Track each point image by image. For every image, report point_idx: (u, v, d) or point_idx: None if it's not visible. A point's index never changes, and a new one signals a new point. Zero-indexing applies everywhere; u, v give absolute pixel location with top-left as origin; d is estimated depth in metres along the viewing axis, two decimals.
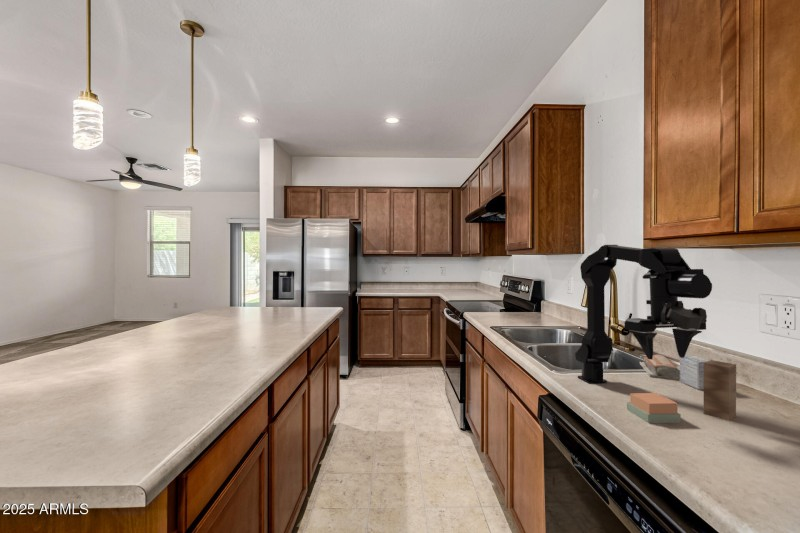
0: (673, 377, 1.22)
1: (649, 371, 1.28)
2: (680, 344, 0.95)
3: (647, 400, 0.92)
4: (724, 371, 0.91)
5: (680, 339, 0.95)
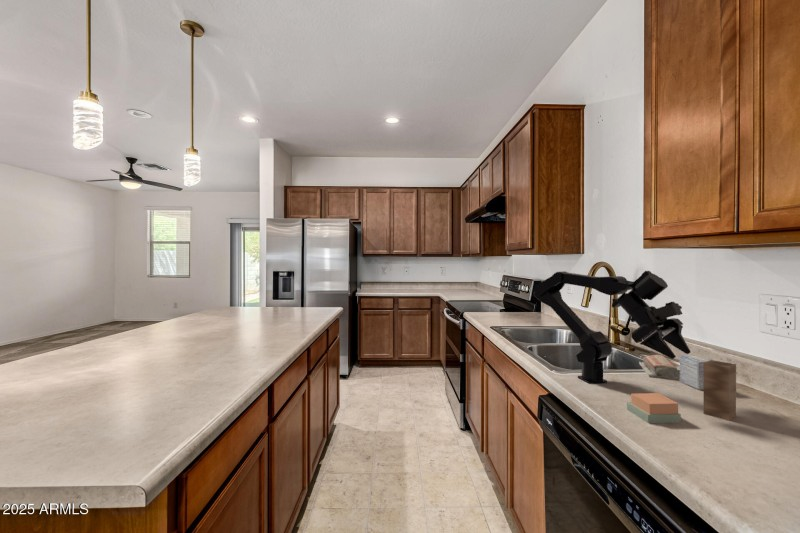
0: (672, 377, 1.22)
1: (648, 371, 1.28)
2: (678, 343, 1.05)
3: (648, 400, 0.92)
4: (724, 371, 0.91)
5: (675, 340, 1.06)
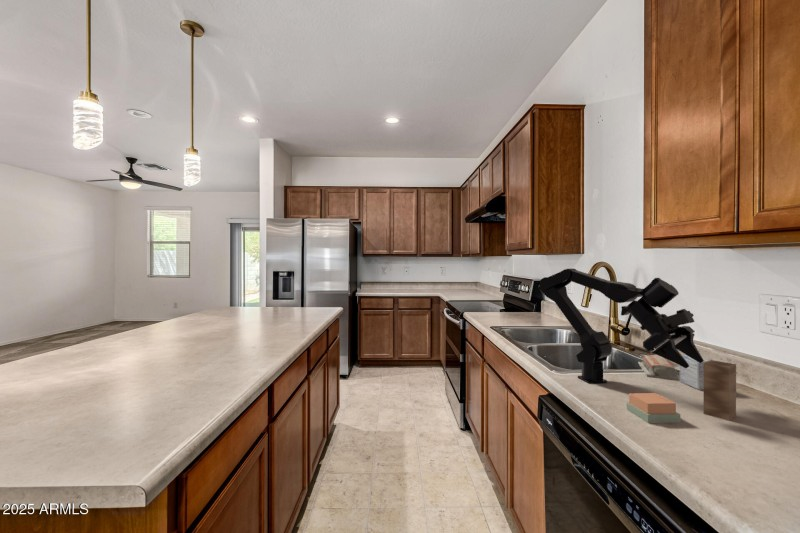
0: (670, 377, 1.22)
1: (647, 371, 1.29)
2: (691, 352, 1.02)
3: (645, 400, 0.92)
4: (724, 371, 0.91)
5: (687, 348, 1.03)
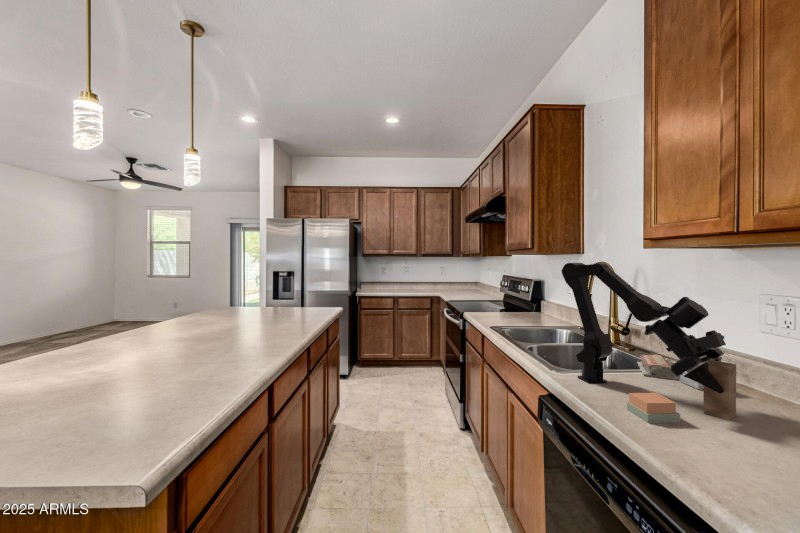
0: (667, 377, 1.22)
1: (644, 370, 1.29)
2: None
3: (645, 400, 0.92)
4: (724, 371, 0.91)
5: None
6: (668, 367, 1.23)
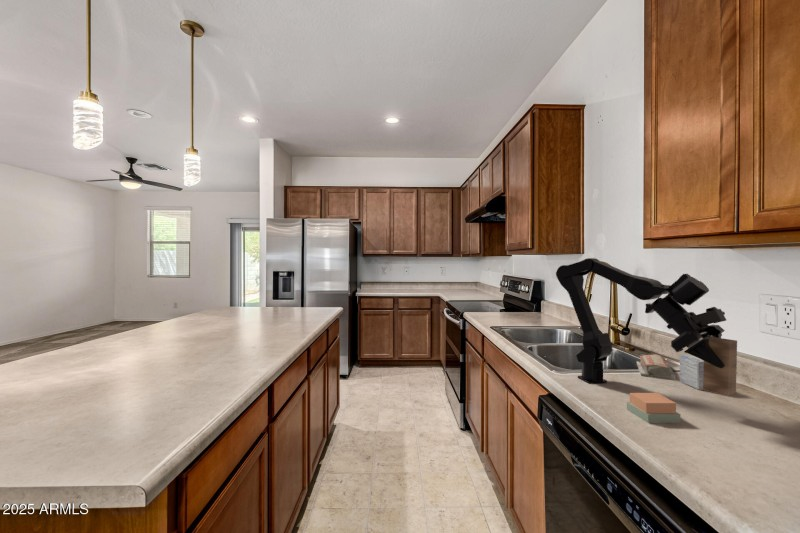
0: (664, 376, 1.23)
1: (642, 370, 1.29)
2: None
3: (645, 400, 0.92)
4: (725, 346, 0.91)
5: None
6: (665, 367, 1.23)
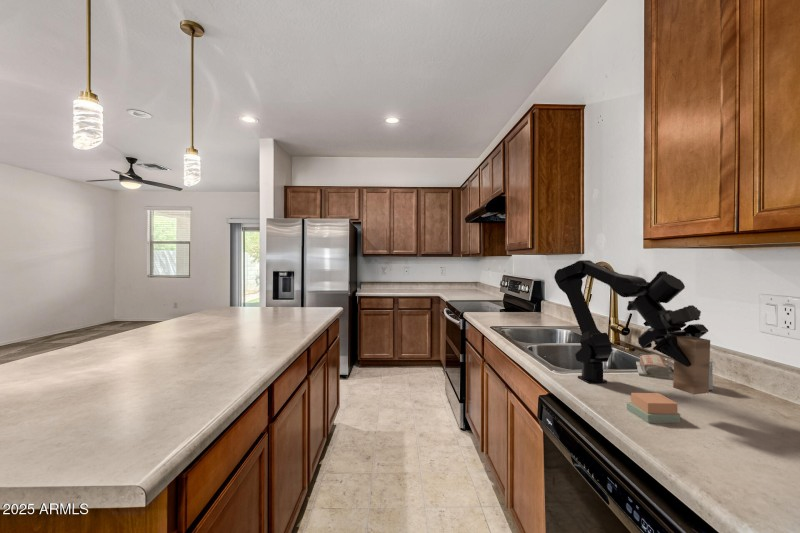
0: (662, 376, 1.23)
1: (640, 370, 1.30)
2: None
3: (646, 400, 0.92)
4: (692, 344, 0.90)
5: None
6: (663, 367, 1.23)
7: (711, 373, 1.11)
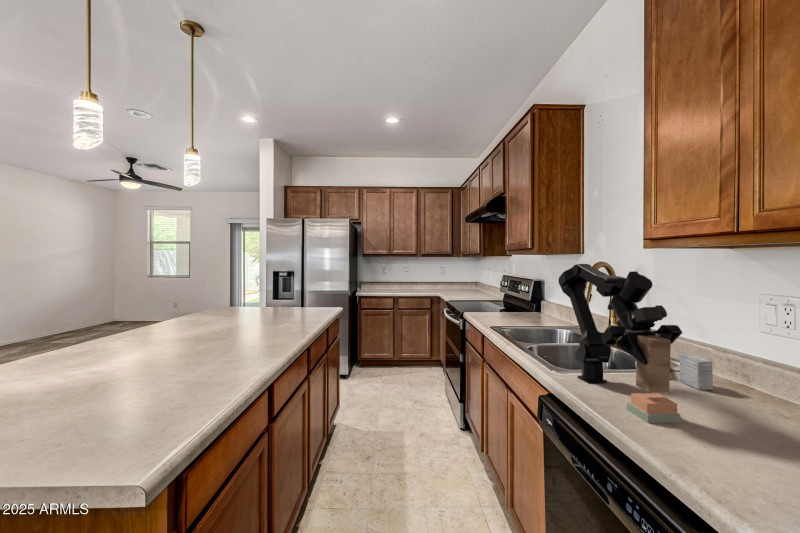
0: None
1: None
2: None
3: (646, 400, 0.92)
4: (648, 343, 0.91)
5: None
6: None
7: (711, 373, 1.11)
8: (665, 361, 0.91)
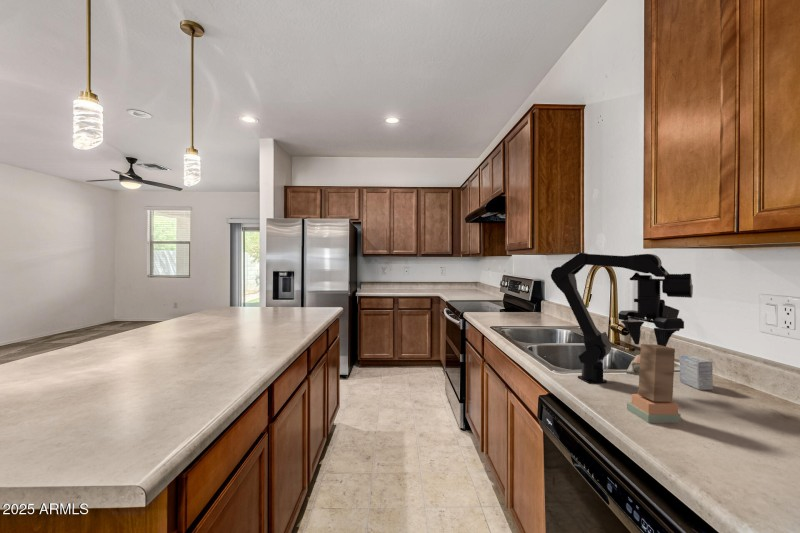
0: None
1: (630, 368, 1.32)
2: (636, 334, 1.15)
3: (647, 401, 0.92)
4: (653, 351, 0.91)
5: (635, 330, 1.16)
6: None
7: (711, 373, 1.11)
8: (669, 370, 0.91)
